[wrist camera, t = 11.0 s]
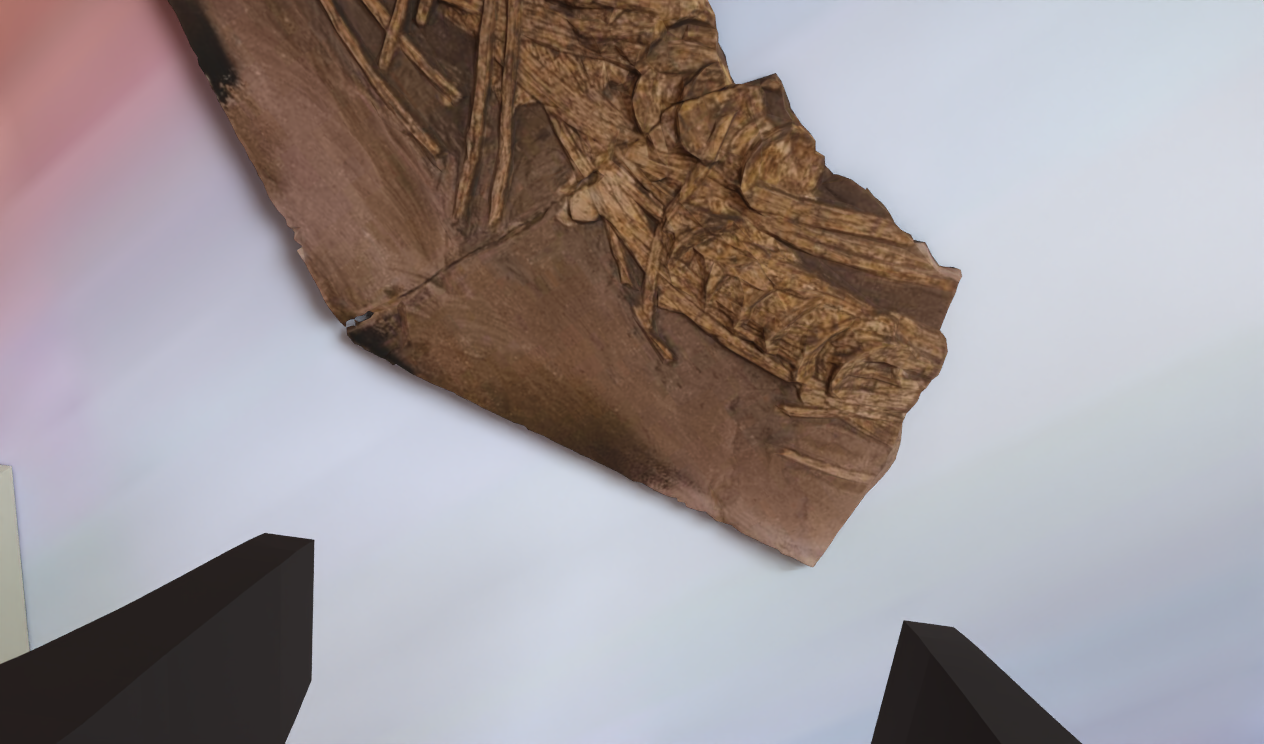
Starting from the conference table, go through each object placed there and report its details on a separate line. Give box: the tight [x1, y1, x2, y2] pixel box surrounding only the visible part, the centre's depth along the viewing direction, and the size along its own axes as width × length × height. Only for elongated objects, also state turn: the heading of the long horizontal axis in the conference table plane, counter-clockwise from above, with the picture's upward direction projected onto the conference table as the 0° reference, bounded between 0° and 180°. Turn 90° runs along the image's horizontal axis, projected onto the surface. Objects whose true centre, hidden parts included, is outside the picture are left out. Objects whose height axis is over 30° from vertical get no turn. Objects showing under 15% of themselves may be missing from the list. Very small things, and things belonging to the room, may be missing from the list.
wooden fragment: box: [168, 0, 962, 567], centre depth 18 cm, size 26×11×1 cm, turn 36°
